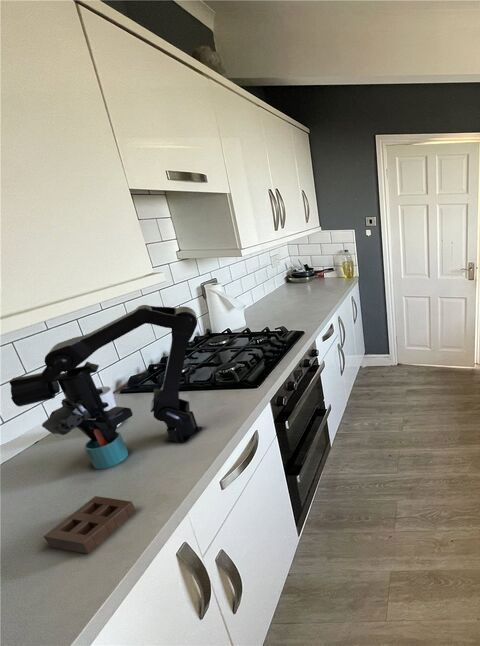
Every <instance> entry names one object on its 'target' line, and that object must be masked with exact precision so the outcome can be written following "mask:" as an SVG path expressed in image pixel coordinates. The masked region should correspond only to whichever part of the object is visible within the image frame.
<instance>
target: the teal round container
mask: <svg viewBox="0 0 480 646" xmlns="http://www.w3.org/2000/svg"><path fill="white" fill-rule="evenodd" d="M83 448H84V451H85V452H86V455H87V456H88V458H89V459H90V463H91V464H92V466H93V468H94V469H95V470H104V469H108V468H111V467H114V466H116V465H118V464H119V463H121V462H122V461H124V460H125V459H126V458H127V457H128V455H129V451H128V448H127V446H126V442H125V441H124V439H123V436H122V434H121V432H120V431H117V430H116V432H115V436H114V440H113V441H112V442H111V443H109V444H107V445H104V446H102V447H100V444H99V442H98V440H97V441H95V442H94V441H92V440H91V439H89V440H88V441H86V442H85V444H84V447H83Z"/></svg>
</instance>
